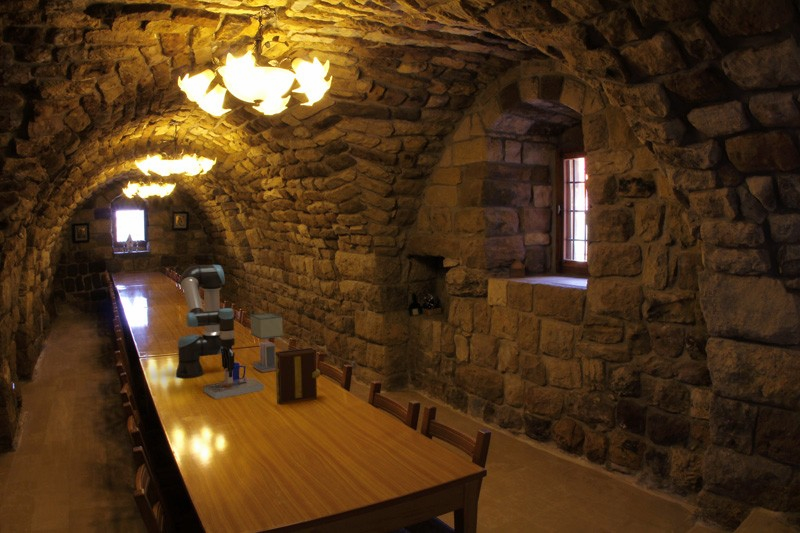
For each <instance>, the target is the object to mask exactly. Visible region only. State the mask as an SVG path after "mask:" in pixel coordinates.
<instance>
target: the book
mask: <svg viewBox="0 0 800 533" xmlns="http://www.w3.org/2000/svg"><path fill="white" fill-rule="evenodd" d="M316 352H317V350H316V349H315V348H313V347H305V348H297V349H289V350H281V351H280V350H279V351H275V361H276V370H275V380H276V384H275V385H276V390H275V391H276V403H277V404H278V405H288V404H294V403H295V404H296V403H301V402H307V401H312V400H313V401H314V400H317V399H318V390H317V388H318V385H317V383H318V382H317V379H318V378H319V377H321V371H320V369H318V368H317V355H316Z"/></svg>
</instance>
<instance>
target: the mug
mask: <svg viewBox="0 0 800 533" xmlns="http://www.w3.org/2000/svg"><path fill="white" fill-rule="evenodd" d="M240 368H243V373H242V374H243V376H242V377H240ZM246 369H247V368H246V366H245V365H240V362H236V361H234V370H233V380H238V379H243V378H245V376H246Z"/></svg>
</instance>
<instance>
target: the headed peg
mask: <svg viewBox="0 0 800 533" xmlns="http://www.w3.org/2000/svg"><path fill="white" fill-rule="evenodd" d="M226 370H228V368H225V372H226V388H228V387H231V383H227V371H226Z"/></svg>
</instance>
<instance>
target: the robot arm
mask: <svg viewBox="0 0 800 533" xmlns="http://www.w3.org/2000/svg"><path fill="white" fill-rule="evenodd" d="M225 280H226V279H225V273H224V269H223V267H222V265H219V264H204V265H203V264H202V265H201V264H200V265H193V266H189V267H187V269H185V270H184V271H183V273H182V274H181V277H180V281H179V282H180V288H181V289H182V290H183V291H184V297H185V301H186V307H187V310H188V313H186V317H185V319H186V320H185V321H186V326H187V327H189V328H193V327H194V328H196V327H197V328H198V327H204V328H205V329H204V331H202V335H201V336H200V335H199V334H197V333H195V334H187V335H184V336H181V337H179V339H178V341H177V348H178V349H177V350H178V351H177V353H178V365H177V367H176V372H175V375H176V376H175V377H176V378H178V379H193V378H198V377H202V376H203V375H204V368H203V366H202V364H201V359H200V357H207V356H218V355H221V365H222V366H221V368H223V372H224V374H223V377H224V382H226V372H225V368H228V370H226V371H227V383H233V370H234V362H235V351H233V346H235V343H236V341H235V339H236V338H235V337H236V336H235V313H234V309H233V308H229V307H228V308H227V307H226V308H225V307H224V308H220V307H221V306H220V303H221V302H220V290H221V289H223V285H225V283H226V281H225ZM199 286H200V288H201V289H202V290H203V298H204V299H203V300H204V301H203V302H204V306H203V302H202V299H201V294H200V291H199Z"/></svg>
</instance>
